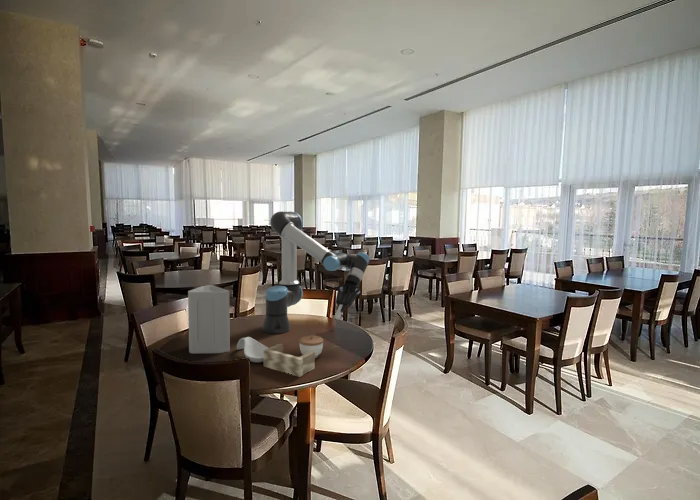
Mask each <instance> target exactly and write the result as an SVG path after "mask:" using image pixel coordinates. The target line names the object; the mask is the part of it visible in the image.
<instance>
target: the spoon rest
mask: <svg viewBox="0 0 700 500" xmlns="http://www.w3.org/2000/svg"><path fill="white" fill-rule="evenodd" d="M267 348H269V347H267V346H266V345H264V344H262V343H261V342H259V341H257V340H256V339H254V338H252V337H251V336H246V337H242V338H240V339H239V340H238V342H237V344H236V350H243V354H244V357H245V358H246V359H247V358H249V359H250V361H249V362H252V363H264V350H265V349H267Z"/></svg>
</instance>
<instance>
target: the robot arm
mask: <svg viewBox="0 0 700 500" xmlns="http://www.w3.org/2000/svg"><path fill="white" fill-rule="evenodd" d="M303 222H304V221H303V217H302V216H301V215H300V214H299V213H298V212H294V211H277V212H275V213H273V214H272V215H271V218H270V220H269V224H270V227H271V229H272V230H273V231H274V233H276V234H277V235H278V236H279V237H280V238H281V280H280V281H279V282H278V285H273V286H270V287H268V288H267V289H266V290H265V297H264V298H265V317H264V321H263V324H262V329H261V330H262V331H263V332H264V333H267V334H274V335H275V334H283V333H288V332H290V331H291V324H290V320H289V317H288V308H289V307H292V306H295V305H296V304H298V303H299V302H301V300H302V298H303V295H304V292H303V291H304V290H303V288H302V286H300V281H299V280H298V267H297V266H298V262H297V261H298V260H297V259H298V257H297V256H298V253H297V252H298V251H297V248H300V249H302V250H303V251H304V252H306V253H307V254H308V255H310V256H311V257H312V258H314V259H315V260H317V261H318V262H320V263H321V264H322V265H323V267H324V269H325V270H327V271H328V272H329V271H330V272H332V271H337V270H339V269H340V270H341V269H343V268H344V269H350V270H349V271H348V274H347V276H346V278H345V281H344V284H342V286H337V288H336V289H337V293H336V299H335V303H336V305H337V307H336V309H335V310H336V312H335V315H334V317H335V318H336V319H337V320H340V319H341V316H342V314H343V313H345V311H346V308H347V307H348V308H350V307H351V306H352V304H353V303H354V302H355V300H356V298H358V296H359V295H360V294H361V291H360V289H359V287H360V284H361V282H362V279H363V277H364V274H365V272H366V269H367V268H368V266H369V263H370V259H371V258H370V256H369V254H367V253H366V252H363V251H359V252H357V254H356V255H354V254H348V253H346V252H345V253H344V252H343V251H342V252H340V251H334V252H332V251H331V250H329V249H328V248H326V247H325V246H323V245H322V244H321V243H319V242H318V241H317V240H315V239H314V238H312V236H309V235H308V234H307V233H306V232H304V231H302V228H303V225H304V223H303Z"/></svg>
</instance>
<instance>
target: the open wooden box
mask: <svg viewBox="0 0 700 500" xmlns="http://www.w3.org/2000/svg"><path fill="white" fill-rule="evenodd" d="M315 360H316V358H315V352H312V351H310V352H308V353H306V354H304V355H303V354H301V356H295V355H292V354H290V353H284V344H283V343H277V344H275V345H273V346H270V347H268V348H267V349H265V350H264V361H263V367H265V368H268V369H271V370H275V371H277V372H282V373H284V372H285V374H288V373H289V374H288V375H291V374H292V375H291V376H296V377H298V378H300V377H303V376H304V375H305V374H308V373H309V372H311V371H313V370H315V367H316V366H315ZM307 372H308V373H307Z"/></svg>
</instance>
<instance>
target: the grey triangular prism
mask: <svg viewBox="0 0 700 500" xmlns="http://www.w3.org/2000/svg"><path fill="white" fill-rule="evenodd" d="M187 299H188V300H187V301H188V302H187V304H188V308H187V309H188V310H187V311H188V352H189V353H190V354H223V353H227V352H230V348H231V347H230V345H231V343H230V341H231V339H230V338H231V337H230V335H231V334H230V331H231V330H230V329H231V328H230V327H231V326H230V322H231V321H230V317H231V316H230V290H227V289H225V288H222V287H219V286H216V285H214V284H213V285H212V284H209V285H207V284H206V285H202V286H199V287H195V288H193V289H190V290H188V291H187Z"/></svg>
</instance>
